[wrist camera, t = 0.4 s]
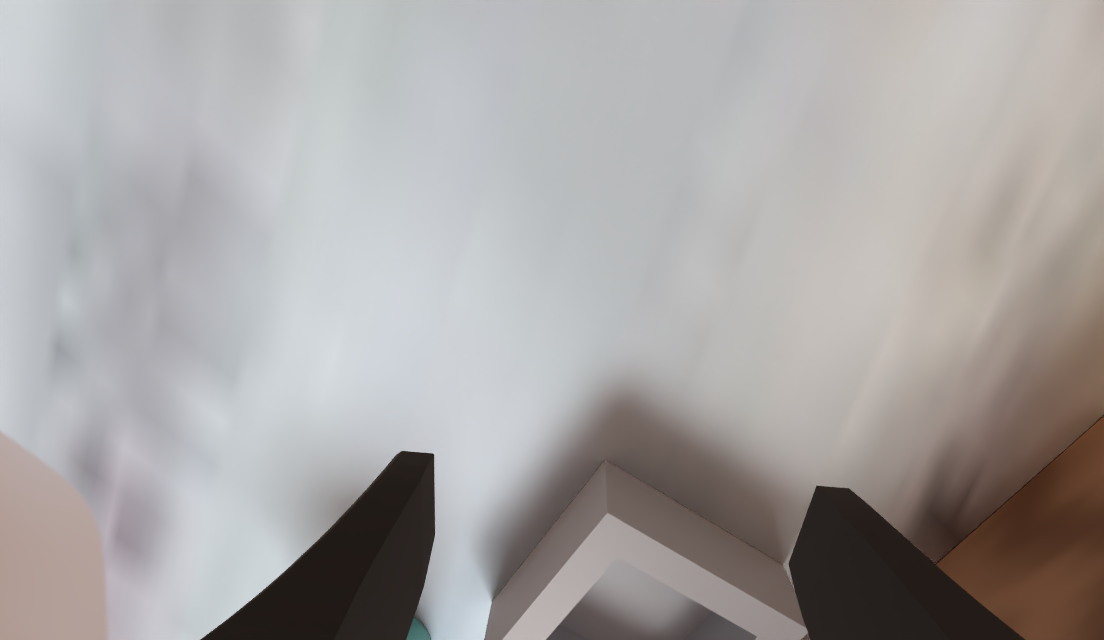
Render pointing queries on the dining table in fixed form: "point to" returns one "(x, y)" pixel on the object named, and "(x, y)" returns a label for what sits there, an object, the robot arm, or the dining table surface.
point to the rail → (1044, 550)
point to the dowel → (417, 631)
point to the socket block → (642, 575)
